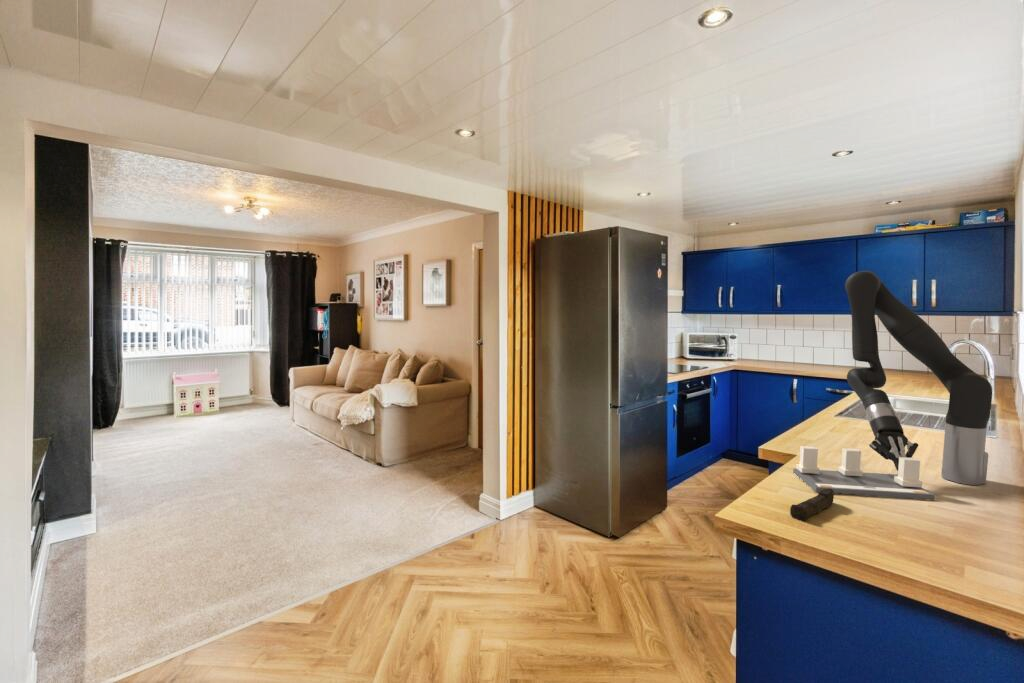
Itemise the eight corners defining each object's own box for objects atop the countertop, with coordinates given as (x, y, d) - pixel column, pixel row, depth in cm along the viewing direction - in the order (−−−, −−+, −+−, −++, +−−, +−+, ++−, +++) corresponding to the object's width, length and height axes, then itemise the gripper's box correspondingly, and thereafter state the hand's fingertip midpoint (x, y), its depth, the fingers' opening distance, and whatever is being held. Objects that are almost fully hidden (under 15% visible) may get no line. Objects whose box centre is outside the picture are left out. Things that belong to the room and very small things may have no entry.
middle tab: (855, 471, 150) (857, 448, 149) (862, 476, 146) (864, 452, 145) (838, 470, 151) (839, 447, 150) (844, 475, 147) (846, 451, 146)
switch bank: (898, 479, 149) (898, 474, 149) (934, 500, 133) (934, 494, 133) (793, 473, 154) (793, 467, 154) (815, 492, 138) (816, 486, 138)
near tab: (912, 482, 141) (914, 457, 141) (922, 487, 137) (924, 461, 137) (893, 481, 142) (895, 456, 141) (902, 486, 138) (904, 460, 138)
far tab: (813, 469, 152) (815, 446, 151) (819, 473, 148) (820, 449, 147) (796, 468, 153) (797, 445, 152) (801, 472, 149) (803, 449, 148)
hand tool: (805, 524, 119) (806, 505, 119) (788, 517, 122) (790, 499, 122) (843, 507, 129) (844, 490, 128) (827, 502, 132) (828, 485, 132)
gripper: (865, 413, 150) (885, 465, 139) (913, 415, 148) (937, 468, 137) (855, 425, 156) (873, 476, 145) (901, 427, 154) (923, 479, 143)
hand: (904, 472), depth 141 cm, fingers closed
